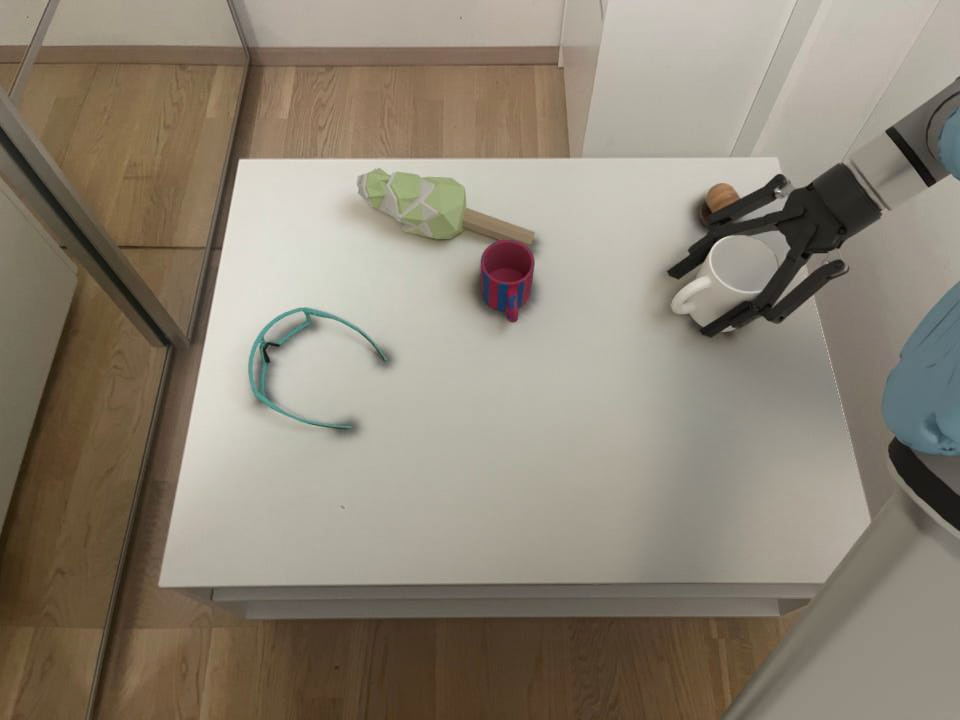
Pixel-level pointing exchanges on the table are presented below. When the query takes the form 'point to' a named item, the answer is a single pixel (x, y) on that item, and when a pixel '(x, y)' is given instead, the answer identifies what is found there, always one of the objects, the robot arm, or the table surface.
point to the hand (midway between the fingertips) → (688, 304)
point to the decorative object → (432, 206)
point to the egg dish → (717, 200)
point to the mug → (727, 279)
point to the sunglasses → (265, 344)
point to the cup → (507, 276)
